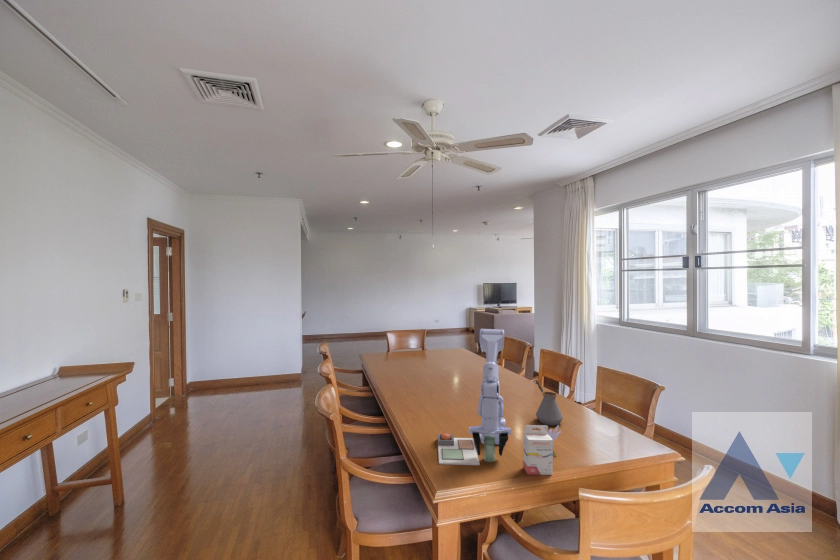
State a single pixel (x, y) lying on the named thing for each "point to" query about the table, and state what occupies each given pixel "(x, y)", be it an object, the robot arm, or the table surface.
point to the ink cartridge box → (537, 450)
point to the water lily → (554, 435)
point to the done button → (445, 436)
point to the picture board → (457, 451)
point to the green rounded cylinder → (489, 448)
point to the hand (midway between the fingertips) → (489, 454)
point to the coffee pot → (548, 408)
